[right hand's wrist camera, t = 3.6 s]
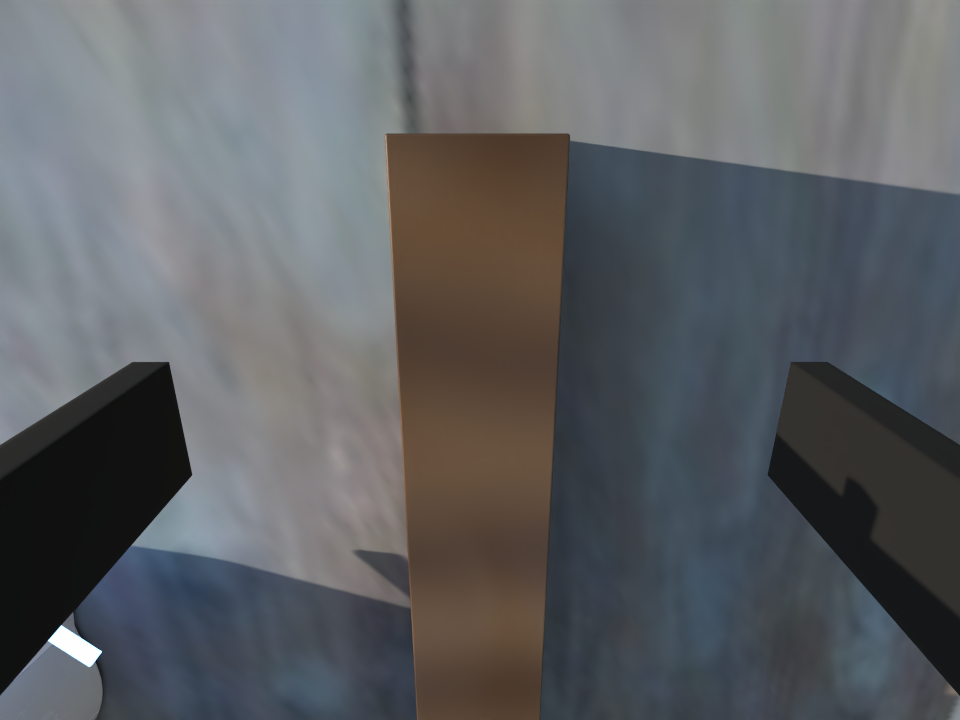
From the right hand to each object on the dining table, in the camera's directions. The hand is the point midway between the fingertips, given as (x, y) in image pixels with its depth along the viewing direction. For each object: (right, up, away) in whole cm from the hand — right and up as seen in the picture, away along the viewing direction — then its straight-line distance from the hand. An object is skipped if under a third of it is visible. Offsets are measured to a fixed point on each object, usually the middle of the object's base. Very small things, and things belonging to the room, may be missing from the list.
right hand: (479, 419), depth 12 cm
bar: (0, -19, +24) cm, 30 cm away
